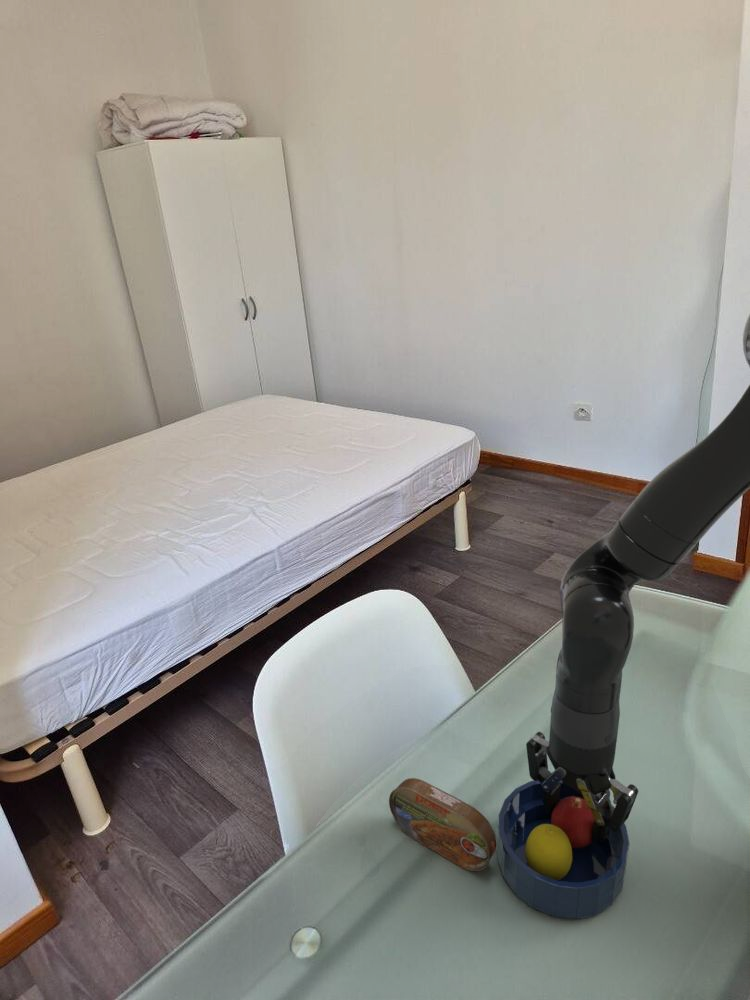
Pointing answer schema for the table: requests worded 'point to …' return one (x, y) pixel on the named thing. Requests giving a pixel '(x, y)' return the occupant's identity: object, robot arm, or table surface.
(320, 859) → the table surface
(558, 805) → the onion
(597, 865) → the bowl
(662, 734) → the table surface
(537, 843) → the lemon
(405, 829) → the tin
